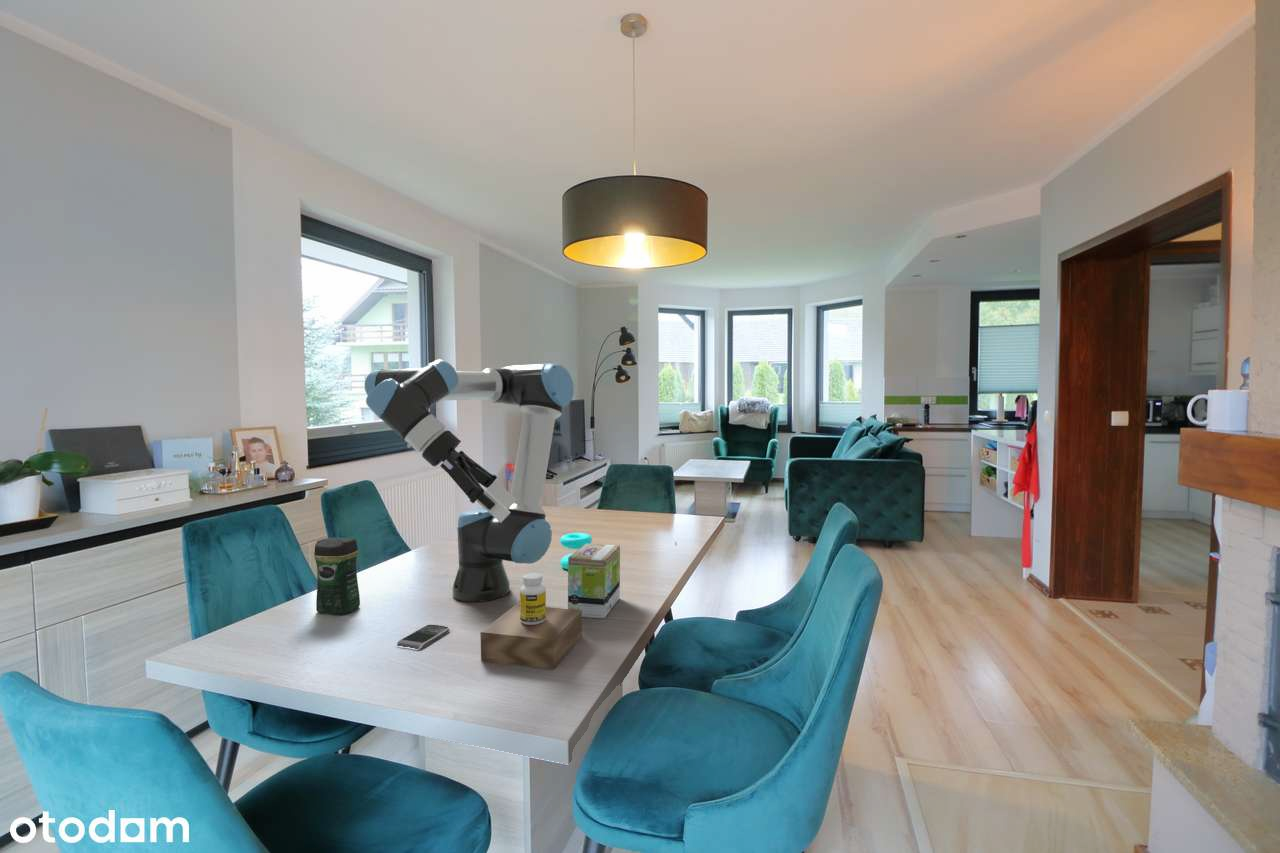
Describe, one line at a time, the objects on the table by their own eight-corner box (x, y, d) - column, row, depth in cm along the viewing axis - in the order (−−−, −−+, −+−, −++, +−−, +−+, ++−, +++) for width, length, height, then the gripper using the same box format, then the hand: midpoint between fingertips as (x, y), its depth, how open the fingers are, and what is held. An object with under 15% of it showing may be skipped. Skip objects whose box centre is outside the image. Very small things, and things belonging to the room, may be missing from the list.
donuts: (596, 533, 184) (584, 540, 175) (596, 563, 185) (585, 572, 175) (568, 531, 187) (555, 538, 178) (568, 561, 188) (555, 570, 178)
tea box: (606, 619, 138) (605, 559, 137) (566, 616, 140) (566, 557, 139) (620, 598, 153) (620, 543, 152) (584, 595, 155) (584, 542, 154)
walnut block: (481, 660, 116) (480, 632, 116) (516, 629, 132) (516, 604, 132) (554, 669, 113) (553, 639, 112) (581, 636, 128) (581, 610, 128)
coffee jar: (365, 605, 148) (363, 535, 147) (344, 617, 140) (342, 542, 139) (332, 603, 150) (330, 533, 149) (310, 614, 142) (307, 541, 141)
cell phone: (451, 632, 132) (451, 626, 132) (419, 652, 121) (418, 646, 121) (429, 629, 134) (429, 623, 134) (395, 648, 123) (395, 642, 123)
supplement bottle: (524, 627, 118) (523, 581, 118) (517, 618, 123) (516, 573, 123) (549, 622, 121) (548, 577, 120) (541, 614, 125) (541, 570, 125)
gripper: (434, 448, 130) (503, 511, 133) (403, 461, 105) (488, 538, 108) (458, 425, 131) (526, 488, 133) (432, 432, 106) (516, 509, 108)
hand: (509, 511), depth 121 cm, fingers open, 13 cm apart
